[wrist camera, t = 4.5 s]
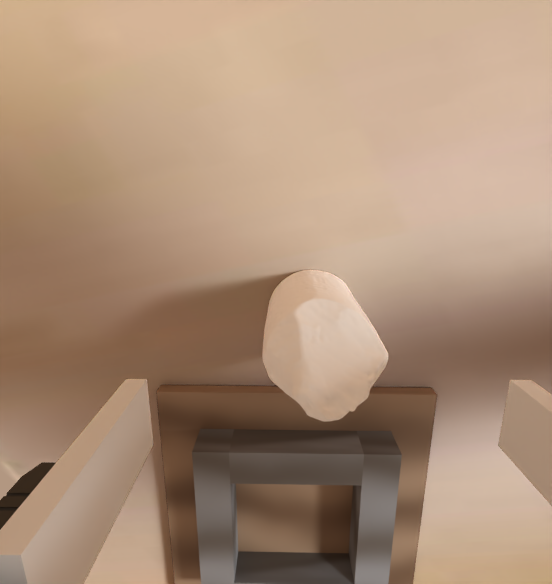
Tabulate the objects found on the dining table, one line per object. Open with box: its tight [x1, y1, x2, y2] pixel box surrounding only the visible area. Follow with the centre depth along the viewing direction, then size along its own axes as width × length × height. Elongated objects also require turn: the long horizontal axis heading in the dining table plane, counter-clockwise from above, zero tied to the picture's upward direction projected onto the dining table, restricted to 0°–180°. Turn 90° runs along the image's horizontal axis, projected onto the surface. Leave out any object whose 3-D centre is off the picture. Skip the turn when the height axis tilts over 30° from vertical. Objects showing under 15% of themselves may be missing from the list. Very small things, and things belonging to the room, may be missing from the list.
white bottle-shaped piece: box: [262, 270, 388, 422], centre depth 19 cm, size 6×12×6 cm
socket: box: [156, 385, 437, 584], centre depth 28 cm, size 20×20×4 cm
